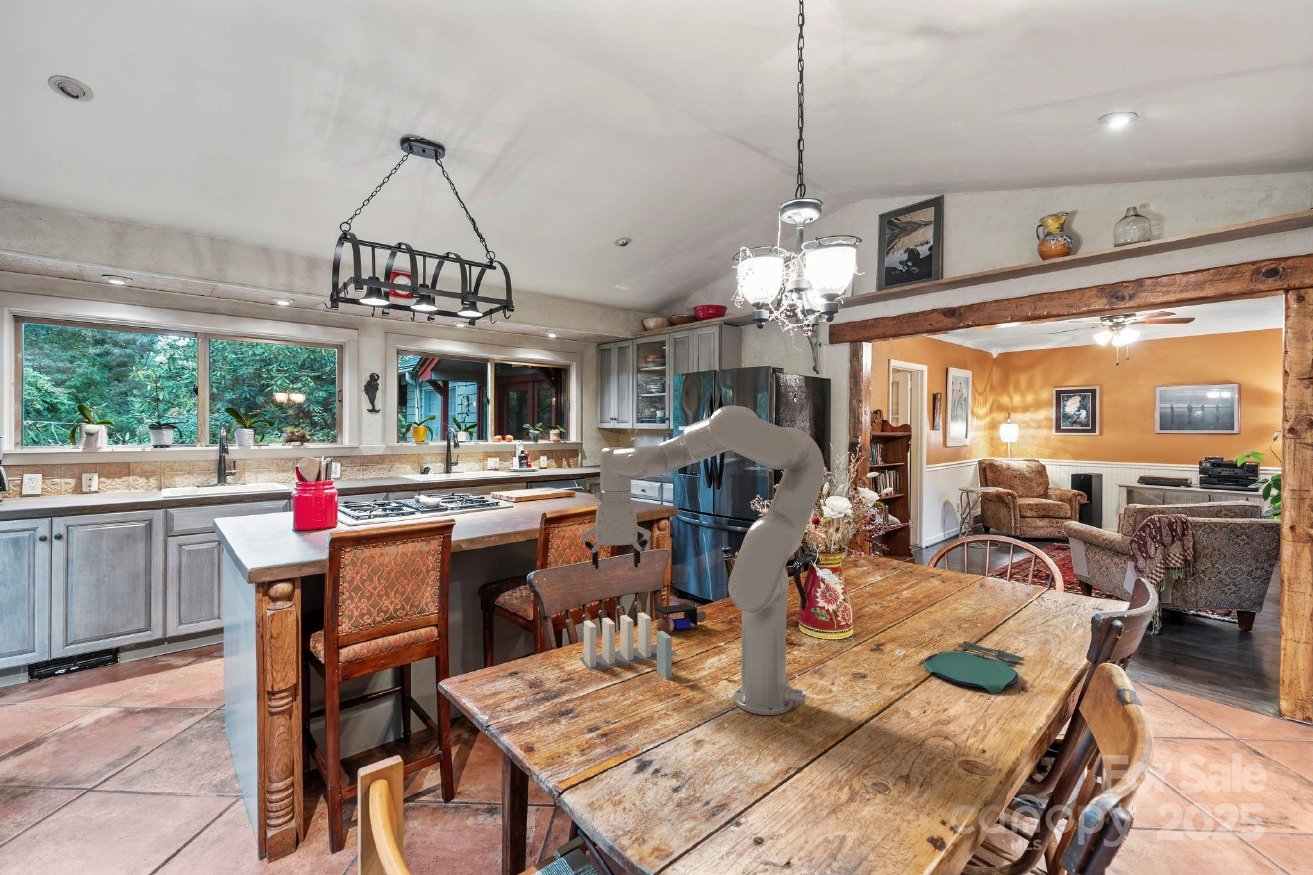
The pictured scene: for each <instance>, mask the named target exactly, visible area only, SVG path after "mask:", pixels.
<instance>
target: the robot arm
mask: <svg viewBox="0 0 1313 875" xmlns="http://www.w3.org/2000/svg"><path fill="white" fill-rule="evenodd" d="M728 451H731V452H733V453H736V454H738V455H739V456H742V457H745V458H747V459H749V460H751V461H753V462H755V463H756V464H758V465H759V464H760V465H761V466H763V467H766V468H769V469H771V470H783V474H782V477H781V479H780V480H779V483H778V485H777V486H776V490H775V493H774V495H773V499H772V500H771V503H770V505H769V507H768V510H767V511H766V514H765V515H764V516H762V517H759V518H758V519H757V520H755V521H754V522H753V523H752V524H751V525H750V527H749V528H748V530H747V533H746V534H745V536H744V538H743V542H742V544H741V547H740V549H739V551H738V554H737V557H736V559H735V561H734V565H733V567H732V570H731V572H730V576H729V579H728V585H727V587H728V588H727V589H728V594H729V597H730V599H731V601H732V603H733V604H734V606H736V607H737V609H739V610H741V630H740V631H741V633H740V634H741V635H740V636H741V637H740V638H741V640H740V641H741V644H740V645H741V647H740V648H741V650H740V652H741V654H740V655H741V656H740V657H741V658H740V660H741V661H740V662H741V667H740V669H741V670H740V671H741V675H740V676H741V679H740V680H741V681H740V682H741V683H740V684H741V686H740V687H739V688H737V689H736V690H735V692H734V693H733V694H734V696H733V700H734V703H735V704H736V705H737V706H738V708H740V709H742V710H744V711H745V712H749V713H751V714H756V715H761V716H777V715H781V714H784V713H787V712H788V711H791V709H793V706H794V703H796V704H800V705H801V704H802V705H806V703H807V694H805V693H803V689H800V688H799V689H798V688H793V687H792V686H790V680H789V679H787V612H788V611H787V608H788V596H789V586H790V585H789V584H790V583H789V582H790V581H789V575H788V570H787V568H786V565H787V563H788V561H789V558H790V557H791V556H792V555H793V554H795V553H796V551H798V549H799V548H800V547H801V545H802V541H803V539H804V536H805V532H806V529H807V527H808V524H809V523H810V520H811V516H812V514H813V511H814V509H815V505H816V502H817V500H818V497H819V495H820V491H821V488H822V486H823V482H824V478H825V462H824V457H823V454H822V451H821V449H820V448H819V446H818V444H817V442H816V441H815V440H814V439H813V438H812V437H811V435H809V434H808V433H807V432H805V431H804V430H801V429H799V428H797V427H793V426H786V427H785V426H784V427H782V426H779V425H777V424H774V423H771V422H769V421H768V420H767V421H766V420H764V419H762V418H759V417H758V415H757V414H756V412H754V411H753V410H752V409H751V408H749V407H746V406H740V405H739V406H738V405H725V406H721V407H720V408H718V409H716V410H715V411H714V412H713V413H712V415H711V416H710V417H708V418H707V417H706V418H705V419H701V420H699V421H697V422H693V423H691V424H689V425H687V426H685V428H684V429H683V432H682V433H681V434H680V435H679V436H676V437H674V438H672V439H669V440H667V441H663V442H660V443H658V444H656V445H648V446H647V445H644V446H634V447H629V448H628V447H625V446H624V447H619V446H617V447H616V446H613V447H612V446H611V447H604V448H602V449H601V450H600V454H599V469H600V470H599V472H600V473H599V477H600V478H599V479H600V480H599V481H600V482H599V483H600V484H599V485H600V491H599V492H597V493H594V499H596V500H599V501H600V502H598V503H597V506H596V512H595V524H594V525H595V526H593V527H590V528H589V529H587V530H585V531H584V532H581V534H580V539H581V541H582V542H583V544H584V546H585V547H586V548H587V549H588V550H589V551H590V552H591V561H592V562H591V563H592V564H591V565H592V566H594V569H595V570H598V569H599V552H598V550H599V548H600V547H601V546H605V547H606V546H626V545H627V546H628V545H629V546H631V545H632V546H633V548H634V549H633V566H634V568H639V564H641V551H642V550H643V548H644V547H645V546H646V545H647V544H648V541H649V540H650V538H651V537H652V532H651V531H650V530H648V529H645V528H644V527H641V526H639V525H638V522H637V520H638V519H637V518H638V517H637V512H636V511H637V510H636V505H635V503H634V502H632V479H634V480H635V479H636V480H639V479H646V478H651V477H652V478H653V477H657V476H662V475H664V474H668V473H671V472H673V471H677V470H679V469H681V468H684V467H687V466H690V465H691V464H696V463H699V462H701V461H703V460H706V459H710V458H711V457H714V456H717V455H720V454H723V453H726V452H728ZM638 533H640V534H642V535H643V537H642V539H640V541H639V542H638ZM592 535H594V536H595V541H594V543H592V542H591V541H590V540H589V539H588V537H590V536H592Z"/></svg>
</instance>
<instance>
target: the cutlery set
mask: <svg viewBox="0 0 1313 875" xmlns="http://www.w3.org/2000/svg"><path fill="white" fill-rule="evenodd" d="M958 648H962V649H966V650H971V651H975V652H977V653H973V652H969V651H964V650H961V649H957V648H954V649H953V651H939V652H938V653H934V654H932V655H930V656H927V657H926V659H925V660H924V663H923V668H924V669H925V670H926V672H928V673H929V674H931V675H932V674H935V675H936V676H938V677H939V678H942V679H944V680H947V681H949V682H952V683H955V684H960V685H964V686H968V687H973V688H980V689H981V688H982V689H985V690H987V691H988V693H990V694H999V693H1000V692H1002V690H1003V689H1004V688H1007V687H1011V686H1013V685H1015V684H1017V682H1018V680H1019V676H1018V675H1019V672H1017V671H1016V670H1015V669H1014V668H1012V667H1017V664H1015V663H1019V662H1021V660H1024V659H1025V657H1024V656H1019V655H1016V654H1014V653H1010V652H1007V651H1006V650H1001V649H1000V648H998V649H995V648H989V647H984V646H982V645H978V644H976V643H972V642H969V641H967V640H963V642H962V644H960V643H959V644H958ZM991 652H994V653H997V654H992V653H991ZM980 653H981V654H980ZM984 654H985V655H988V656H985V655H984ZM989 656H991V657H989ZM992 657H995V658H992ZM996 658H997V659H996Z"/></svg>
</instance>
